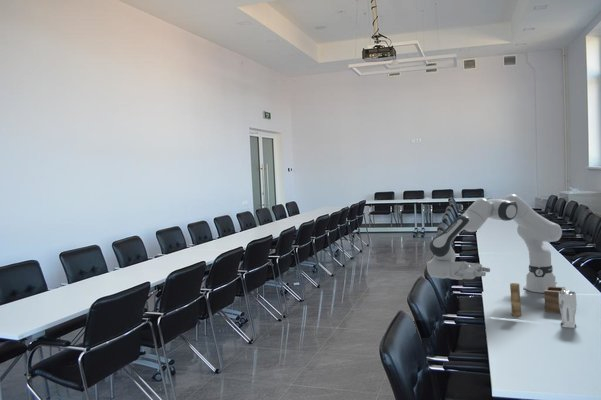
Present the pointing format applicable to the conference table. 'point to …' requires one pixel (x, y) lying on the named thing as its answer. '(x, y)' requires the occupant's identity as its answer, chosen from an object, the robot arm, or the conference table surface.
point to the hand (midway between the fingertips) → (487, 272)
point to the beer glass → (567, 308)
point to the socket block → (552, 298)
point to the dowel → (515, 299)
